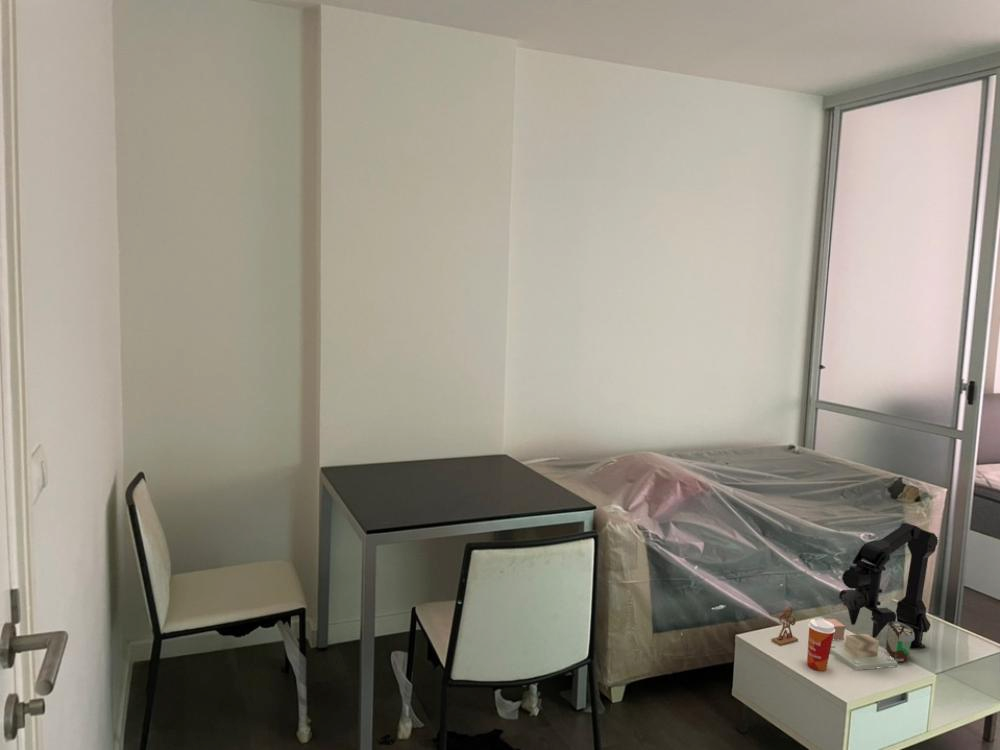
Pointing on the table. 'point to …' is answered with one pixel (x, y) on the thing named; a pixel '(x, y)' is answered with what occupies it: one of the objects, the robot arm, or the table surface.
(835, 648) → the build plate
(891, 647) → the food container
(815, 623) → the paper cup
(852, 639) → the birch brick
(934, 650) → the table surface
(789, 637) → the brown figurine
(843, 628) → the terracotta brick
